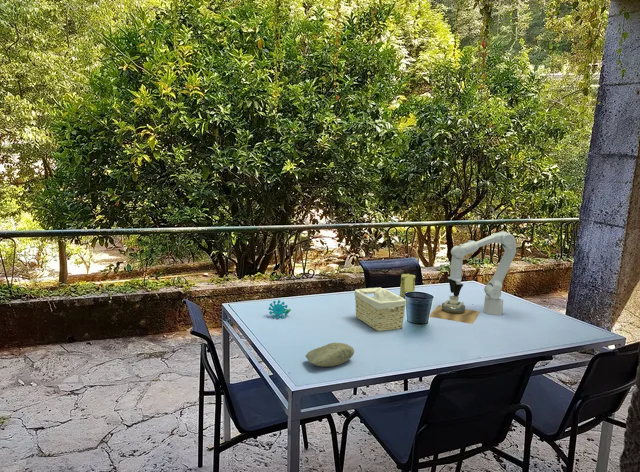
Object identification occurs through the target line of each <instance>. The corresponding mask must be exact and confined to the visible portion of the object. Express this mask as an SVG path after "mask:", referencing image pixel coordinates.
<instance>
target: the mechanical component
mask: <svg viewBox="0 0 640 472" xmlns="http://www.w3.org/2000/svg"><path fill="white" fill-rule="evenodd" d="M400 276H401V277H400V284H399V285H400V286H399V287H400V289H399V293H400V294H399V296H400V297H403V298H404V299H406V298H405V293H406V292H413V291H415V289H416V288H415V287H416V286H415V285H416V282H415V281H416V275H415V274H410V273H402V274H401V275H400Z"/></svg>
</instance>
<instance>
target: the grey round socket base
mask: <svg viewBox="0 0 640 472" xmlns="http://www.w3.org/2000/svg"><path fill="white" fill-rule="evenodd" d="M449 301H450V299H447V300H446V301H445V302H442V303H441V305H442V309H441V310H442V311H443V312H446V313H450V314H463V313H465V309H466V305H464V302H463V301H458V305H453V304H449Z"/></svg>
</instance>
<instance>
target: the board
mask: <svg viewBox="0 0 640 472" xmlns="http://www.w3.org/2000/svg"><path fill="white" fill-rule="evenodd" d="M441 309H442V304H439V305H437V306H436V308H435V309H434V310H432V312H430V314H429V315H430V316H429V315H428V316H429V318H436V319H440V320H441V319H442V320H448V321H453V322H459V323H464V324H471V325H473V324H474V323H475V321H476V320H477V318H478V317H479V315H480V313H481V312H482V311H480V310H475V309H474V310H473V309H469V308H467V309H466V308H465V313H463V314H450V313H446V312H443V311H442V310H441Z"/></svg>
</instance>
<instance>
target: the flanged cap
mask: <svg viewBox="0 0 640 472" xmlns="http://www.w3.org/2000/svg"><path fill="white" fill-rule="evenodd" d="M448 297H449V300H450V301H449V304H453V305H458V302H459V298H460V297H459V296H458V297H454V295H449V296H448Z"/></svg>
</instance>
